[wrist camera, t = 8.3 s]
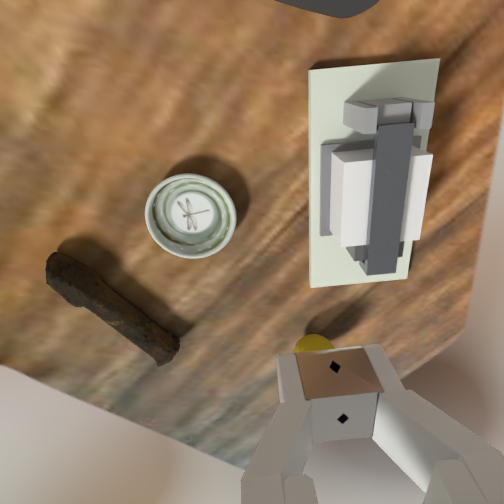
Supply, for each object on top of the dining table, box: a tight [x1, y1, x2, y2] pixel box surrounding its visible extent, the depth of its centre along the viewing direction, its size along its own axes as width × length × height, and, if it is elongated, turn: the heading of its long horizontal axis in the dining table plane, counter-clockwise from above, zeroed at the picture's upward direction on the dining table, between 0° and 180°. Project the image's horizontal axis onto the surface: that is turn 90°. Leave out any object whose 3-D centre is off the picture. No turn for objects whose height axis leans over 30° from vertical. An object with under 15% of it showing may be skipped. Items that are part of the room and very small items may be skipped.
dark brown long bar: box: [45, 252, 180, 366], centre depth 42 cm, size 19×4×5 cm, turn 37°
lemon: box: [294, 334, 335, 353], centre depth 45 cm, size 6×6×8 cm
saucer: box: [145, 173, 237, 258], centre depth 38 cm, size 10×10×2 cm
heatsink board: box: [308, 58, 440, 288], centre depth 35 cm, size 24×12×7 cm, turn 5°
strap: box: [359, 122, 415, 276], centre depth 33 cm, size 14×3×2 cm, turn 5°
